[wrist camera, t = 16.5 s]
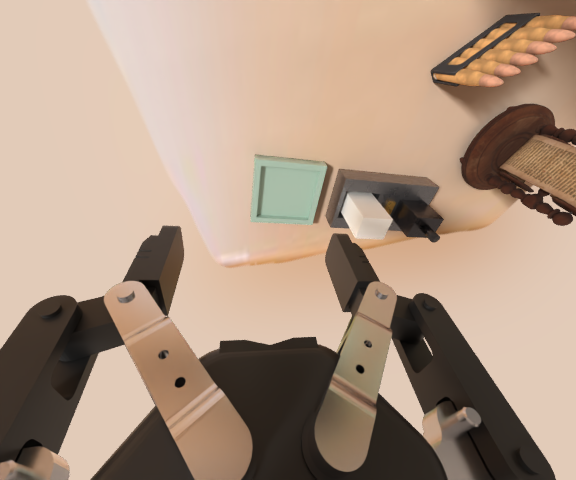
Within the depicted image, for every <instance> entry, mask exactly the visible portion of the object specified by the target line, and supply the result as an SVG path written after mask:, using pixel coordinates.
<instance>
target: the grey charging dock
mask: <svg viewBox="0 0 576 480" xmlns="http://www.w3.org/2000/svg"><path fill="white" fill-rule="evenodd" d="M438 188H439V187H438V186H437V185H436V184H435V183H433V182H432V181H431V180H429V179H428V178H426V177H416V176H406V175H396V174H386V173H376V172H365V171H355V170H345V169H339V171H338V174H337V178H336V181H335V185H334V188H333V192H332V195H331V198H330V202H329V205H328V209H327V212H326V218H327V220H328V223H329V225H330V227H332V228H349V226H348V224H347V222H346V220H345V218H344V217H343V215H342V213H341V211H340V209H341V206H342V203H343V200H344V197H345V194H346V191H350V192H363V193H372V194H373V196H374V197H375V198H376V199H377V200H378V202H379V203H380V204H381V205H382V207H383V208H384V209H385V210H386V211H387V213H388V214H389V215H390V216H391V218H392V219H393V221H392V223H391V225H390V227H389V229H388V230H394V231H403V233H404V234H405V235H406V236H407V237H424V238H428V239H429V240H430V241H431V242H437V241H438V240H439V239H440V236H439V235H438V234H437V233H436V230H437V229H438V227H439V226H440V224H441V223H442V221H443V220H444V219H443V218H442V217H441V216H440V215H439V214H438V213H436V212H435V211H434V210H433V209H432V208H431V207H430V206H429V204H430V202H431V201H432V199H433V197H434V195H435V194H436V192H437V190H438Z"/></svg>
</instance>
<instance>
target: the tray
mask: <svg viewBox="0 0 576 480" xmlns="http://www.w3.org/2000/svg"><path fill="white" fill-rule="evenodd" d="M326 170H327V165H326V163H325V162H322V161H312V160H302V159H293V158H283V157H273V156H264V155H255V160H254V174H253V189H252V203H251V222H264V223H284V224H304V225H312V224H313V220H314V216H315V212H316V208H317V205H318V201H319V197H320V193H321V189H322V185H323V181H324V178H325V174H326Z"/></svg>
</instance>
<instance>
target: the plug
mask: <svg viewBox="0 0 576 480" xmlns="http://www.w3.org/2000/svg"><path fill="white" fill-rule="evenodd" d="M340 211H341V213H342V215H343V217H344V218H345V220H346V222H347V224H348V226H349V228H350V229H351V231H352V233H353V235H354V237H355V238H361V239H384V237H385V235H386V233H387V231H388V229H389V227H390V225H391V223H392V221H393V219H392V218H391V216H390V215H389V214H388V213H387V211H386V210H385V209H384V208H383V207H382V205H381V204H380V203H379V202H378V200H377V199H376V198H375V197H374V196H373V194H372V193H363V192H350V191H346V194H345V197H344V200H343V203H342V206H341V209H340Z"/></svg>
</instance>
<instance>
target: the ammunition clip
mask: <svg viewBox="0 0 576 480" xmlns="http://www.w3.org/2000/svg"><path fill="white" fill-rule="evenodd" d="M536 16H537V17H536ZM572 30H576V16H561V15H551V16H540V13H531V14H514V15H506V16H505V17H503V18H502V19H500V20H499V21H498V22H496V23H495V24H494V25H492V26H491V27H490V28H488V29H487V30H485V31H484V32H483V33H481V34H480V35H479V36H477V37H476V38H474V39H473V40H472V41H470V42H469V43H468V44H466V45H465V46H463V47H462V48H461V49H459V50H458V51H457V52H455V53H454V54H452V55H451V56H450V57H448V58H447V59H446V60H444V61H443V62H442V63H440V64H439V65H437V66H436V67H435V68H433V69H432V70H431V75H432V79H433V82H434V83H440V84H446V85H452V86H458V85H460V84H462V85H467V86H484V87H496V86H500V85H503V84H504V82H503V80H502V79H500V78H498V77H496V76H502V77H505V76H514V75H517V74H519V73H521V71H520V69H519V68H517V67H515V66H524V65H530V64H533V63H536V62H538V58H537V57H535V56H533V55H538V54H545V53H549V52H552V51H554V50H556V49H557V47H556V46H555V45H553V44H551V43H556V42H562V41H566V40H569V39H572V38H574V37H576V34H575V33H574V32H572ZM513 65H514V66H513Z"/></svg>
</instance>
